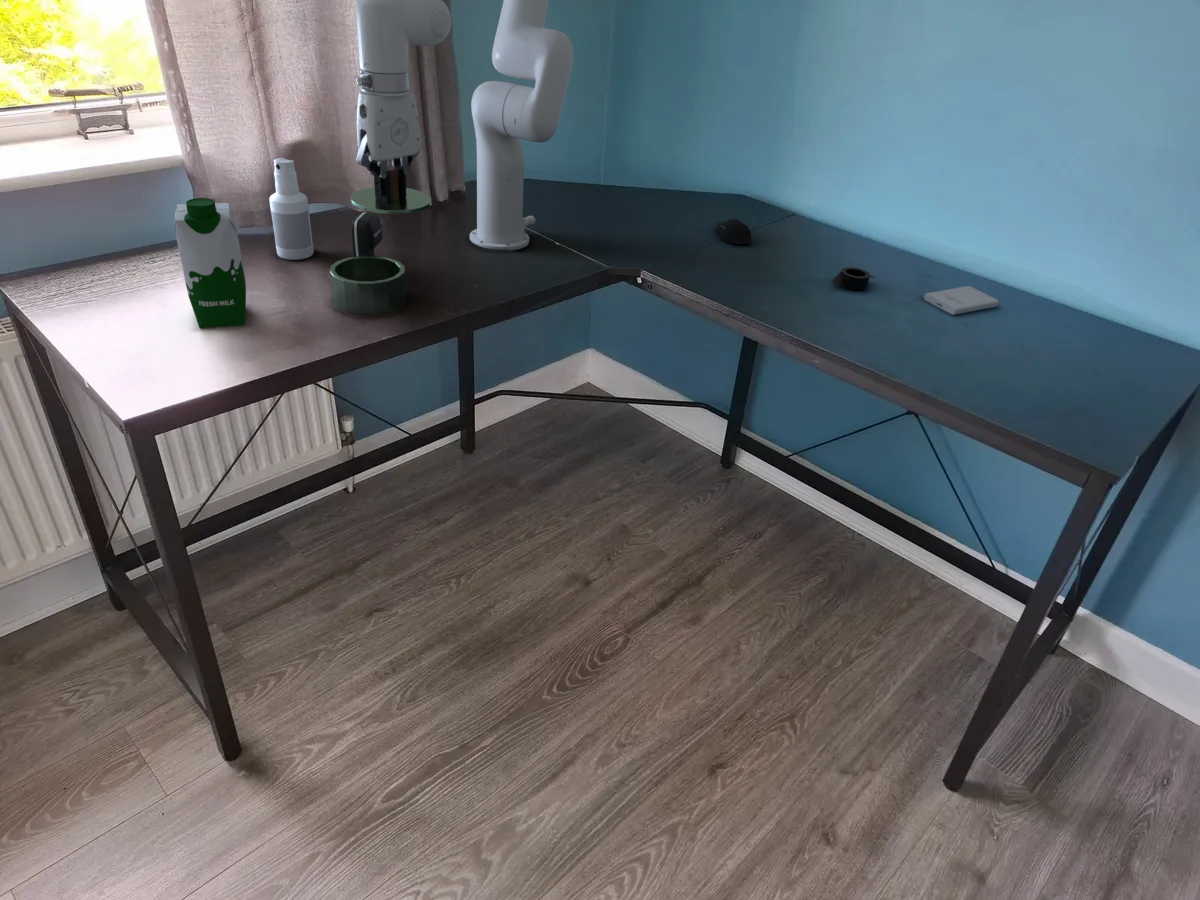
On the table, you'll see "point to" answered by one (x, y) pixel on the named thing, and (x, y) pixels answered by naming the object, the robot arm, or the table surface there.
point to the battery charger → (365, 234)
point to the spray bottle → (290, 214)
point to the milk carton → (211, 262)
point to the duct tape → (853, 279)
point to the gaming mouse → (734, 232)
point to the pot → (368, 285)
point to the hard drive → (961, 300)
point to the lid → (397, 204)
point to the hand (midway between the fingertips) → (390, 196)
